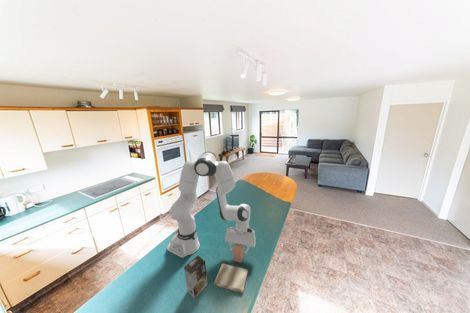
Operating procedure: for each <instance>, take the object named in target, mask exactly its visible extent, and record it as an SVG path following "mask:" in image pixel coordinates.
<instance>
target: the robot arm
mask: <svg viewBox="0 0 470 313" xmlns="http://www.w3.org/2000/svg"><path fill="white" fill-rule="evenodd" d="M213 176H214V177H215V180H216V182H217V186H216V188H215V193H216V199H217V203H218V208H219V209H218V210H219V216H220V219H222V220H223V221H233V222H235V227H231V226H229V227H227V228H226V230H225V231H226V233H225V234H224V235H225V236H224V241H225V242H227V243H228V245H229V251H231V252H233V248H234V247H232V244H235V243H236V244H241V245H243V246H246V250H243V255H248V252H249V250H250V248H255V247H256V243H257V242H256V235H255V234H256V233H255V232H256V231H255V230H254V229H252V228H250V219H251V206H250V205H249V204H247V203H240V205H230V204H228V203H227V198H226V194H228V193H229V192H231V191H232V190H233V189H235V186H236V183H237V182H236V177H235V174H234V172H233V170H232V168H231V166H230V164H229V162H228V161H226V160H220V161H217V157H216V155H215V153H213V152H212V151H205V152H203V153H202V154H201V155H200V156H199V157H198V158H197V160H196V161H195V160H188V161H186V162H184V164H183V166H182V169H181V172H180V177H179V182H178V183H179V184H178V190H179V191H180V195H179V197H178V198H177V200H175V201H174V203H173V204H172V205H171V207H170V208H169V212H168V215H169V216H170V218H171V219H172V220H174V221H176V222H177V227H178V229H177V230H176V232H175V234H174V235H173V236H172V238H171V239H170V242H169V243H168V244H167V248H166V250H167V251H168V252H170V253H172V254H174V255H175V256H178V257H179V258H182V259H183V258H185V257H187V256H190V255H193V254H195V253H196V252H197V251H198V250H199V248H200V246H201V243H200V242H199V238H198V232H197V231H198V230H197V229H198V228H197V226H196V219H195V216H194V215H192V214H191V213H192V209H193V208H194V207H195V205H196V203H197V201H198V195H197V189H198V183H199V178H200V177H213Z"/></svg>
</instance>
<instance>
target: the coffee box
mask: <svg viewBox="0 0 470 313" xmlns="http://www.w3.org/2000/svg"><path fill="white" fill-rule="evenodd" d="M206 266H207V265H206V261H205V260H204V259H203V258H202V257H201V256H199V255H196V256H195V257H193V259H192V260H191V261H189V262H188V263H187V264H186V265H184V267H183V268H184V276H185V282H186V290H187V292H188V293H189V295H191V297H192V298H194V299H195V298H197V296H199V294H200V293H201V292H203V291H204V289H205V288H206V287H207V286H208V285H209V284H208V276H207V275H208V274H207V267H206Z"/></svg>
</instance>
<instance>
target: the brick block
mask: <svg viewBox="0 0 470 313" xmlns="http://www.w3.org/2000/svg"><path fill="white" fill-rule="evenodd" d="M232 248H233V249H232V252H233V255H232V256H233V261H234V262H237V263H242V261H243V258H244V245H241V244H236V243H234V246H233V247H232Z"/></svg>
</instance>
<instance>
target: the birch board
mask: <svg viewBox="0 0 470 313" xmlns="http://www.w3.org/2000/svg"><path fill="white" fill-rule="evenodd" d="M248 274H249V270H248V269H246V268H243V267H238V266H234V265H230V264H226V263H221V266H220V268H219V270H218V273H217V275H216V277H215V280H214V282H213V284H214V286H216V287H220V288H224V289H227V290H231V291H234V292H237V293H241V294H244V289H245V287H246V282H247V279H248Z"/></svg>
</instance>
